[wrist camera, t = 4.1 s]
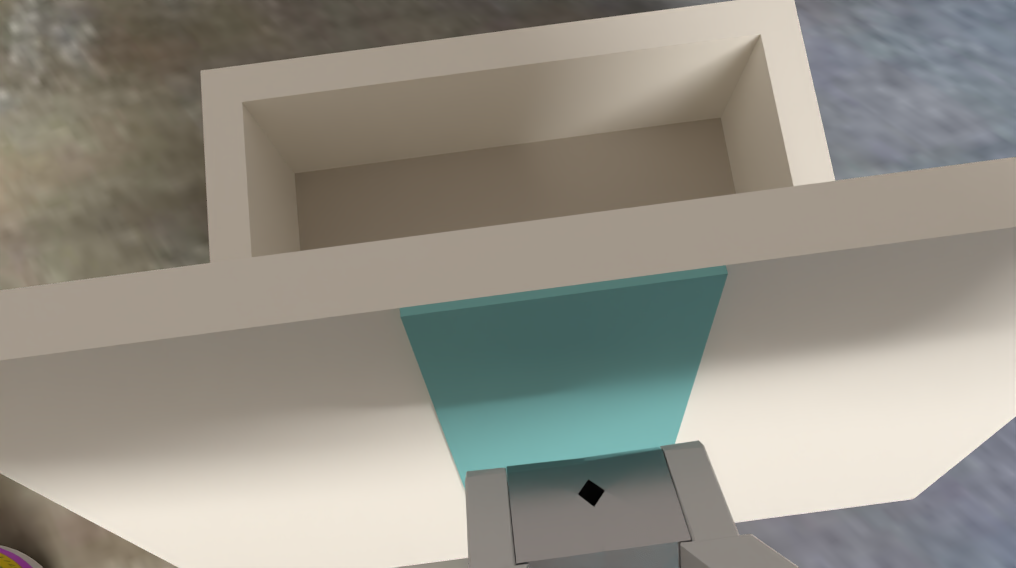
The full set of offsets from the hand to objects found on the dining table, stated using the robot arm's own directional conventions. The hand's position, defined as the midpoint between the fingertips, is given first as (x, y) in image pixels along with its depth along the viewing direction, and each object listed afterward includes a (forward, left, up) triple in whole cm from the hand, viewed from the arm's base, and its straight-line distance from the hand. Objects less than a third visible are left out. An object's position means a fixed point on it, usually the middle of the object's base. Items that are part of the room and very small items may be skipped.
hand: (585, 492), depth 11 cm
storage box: (-1, -7, -20) cm, 21 cm away
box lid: (0, -2, -6) cm, 6 cm away
